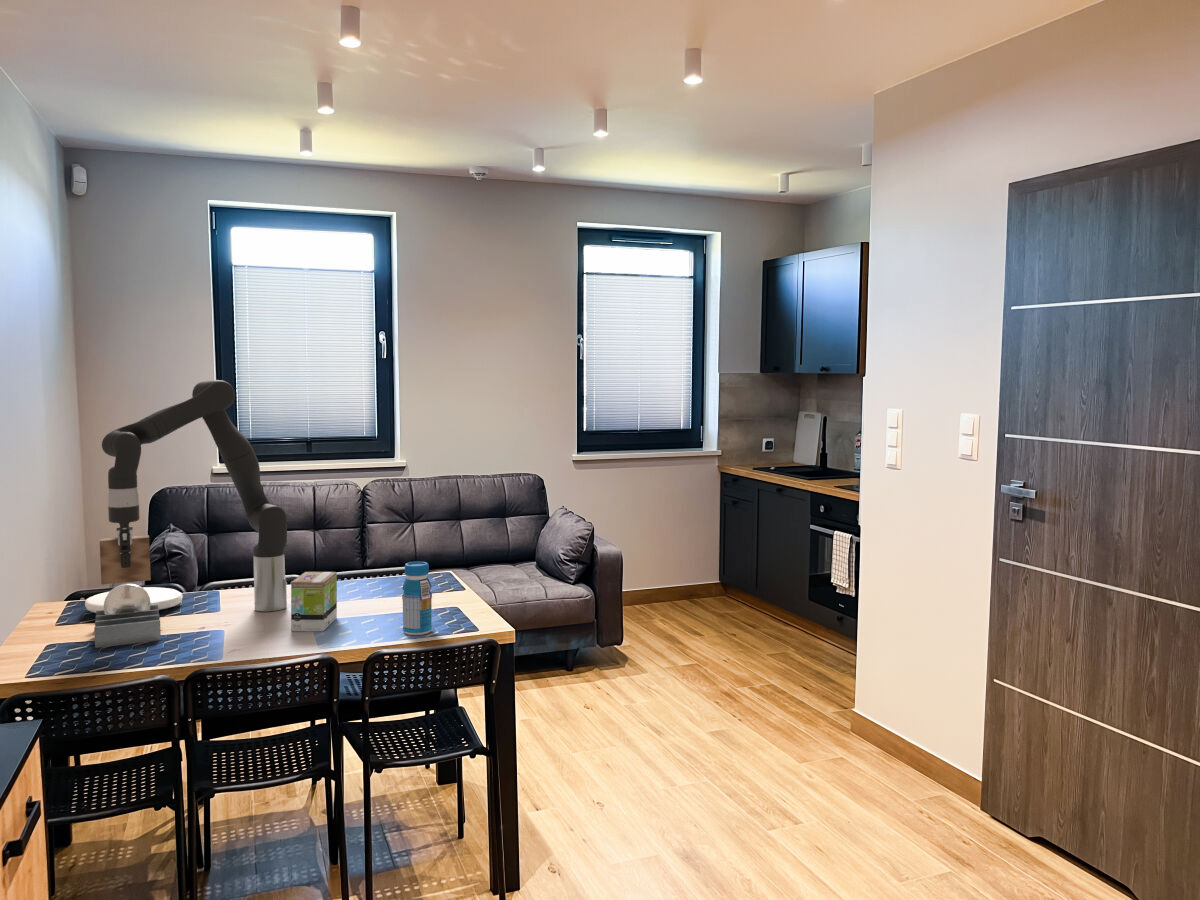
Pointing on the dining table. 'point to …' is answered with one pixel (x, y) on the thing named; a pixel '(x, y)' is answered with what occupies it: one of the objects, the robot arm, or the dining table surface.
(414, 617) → the beverage bottle
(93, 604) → the plate
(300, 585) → the tea box
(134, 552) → the walnut board
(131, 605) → the dish rack
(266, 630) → the dining table surface
